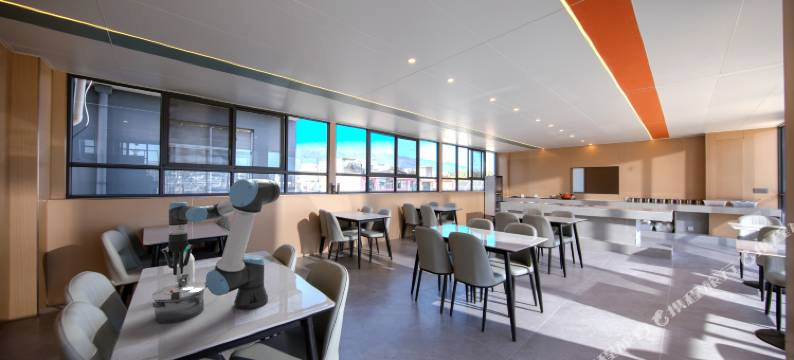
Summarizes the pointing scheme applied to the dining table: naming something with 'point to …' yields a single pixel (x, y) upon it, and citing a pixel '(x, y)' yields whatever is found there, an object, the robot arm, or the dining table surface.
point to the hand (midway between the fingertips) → (178, 281)
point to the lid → (179, 290)
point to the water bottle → (189, 267)
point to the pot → (179, 309)
